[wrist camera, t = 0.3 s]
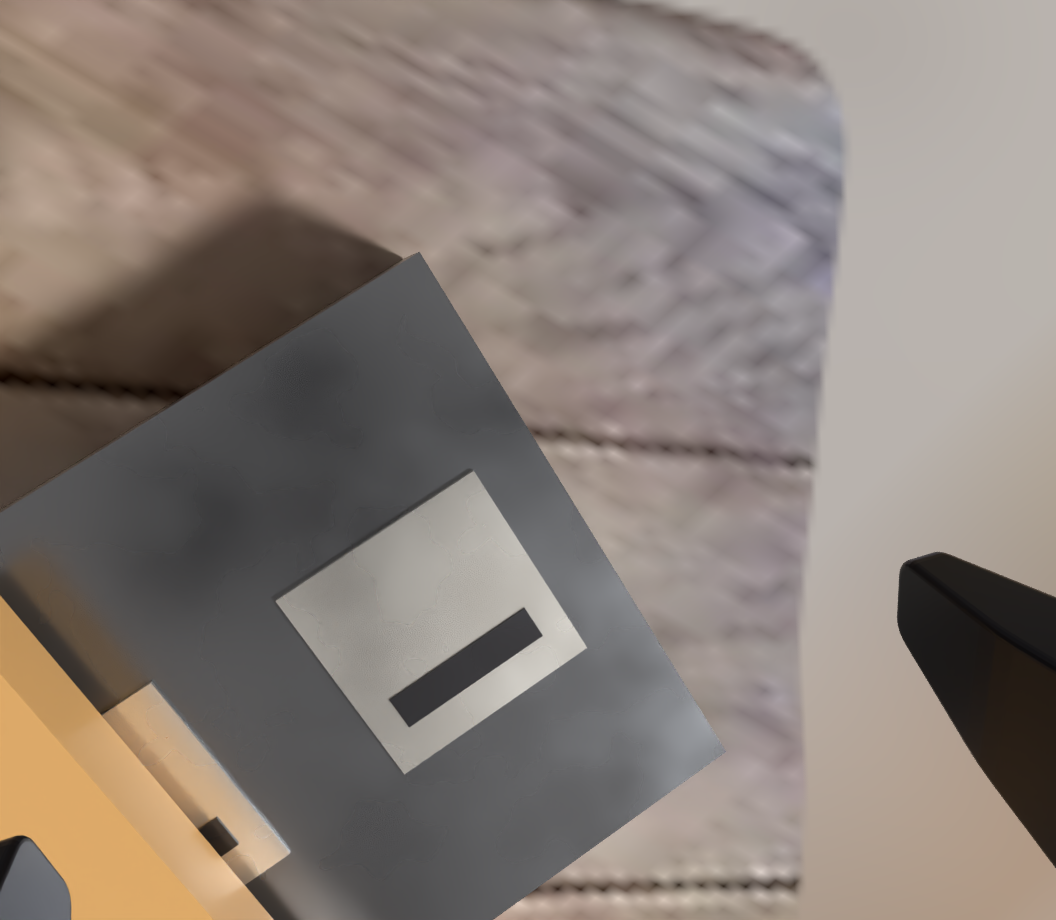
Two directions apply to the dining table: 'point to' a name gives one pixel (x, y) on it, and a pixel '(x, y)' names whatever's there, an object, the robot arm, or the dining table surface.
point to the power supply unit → (358, 622)
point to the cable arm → (98, 803)
